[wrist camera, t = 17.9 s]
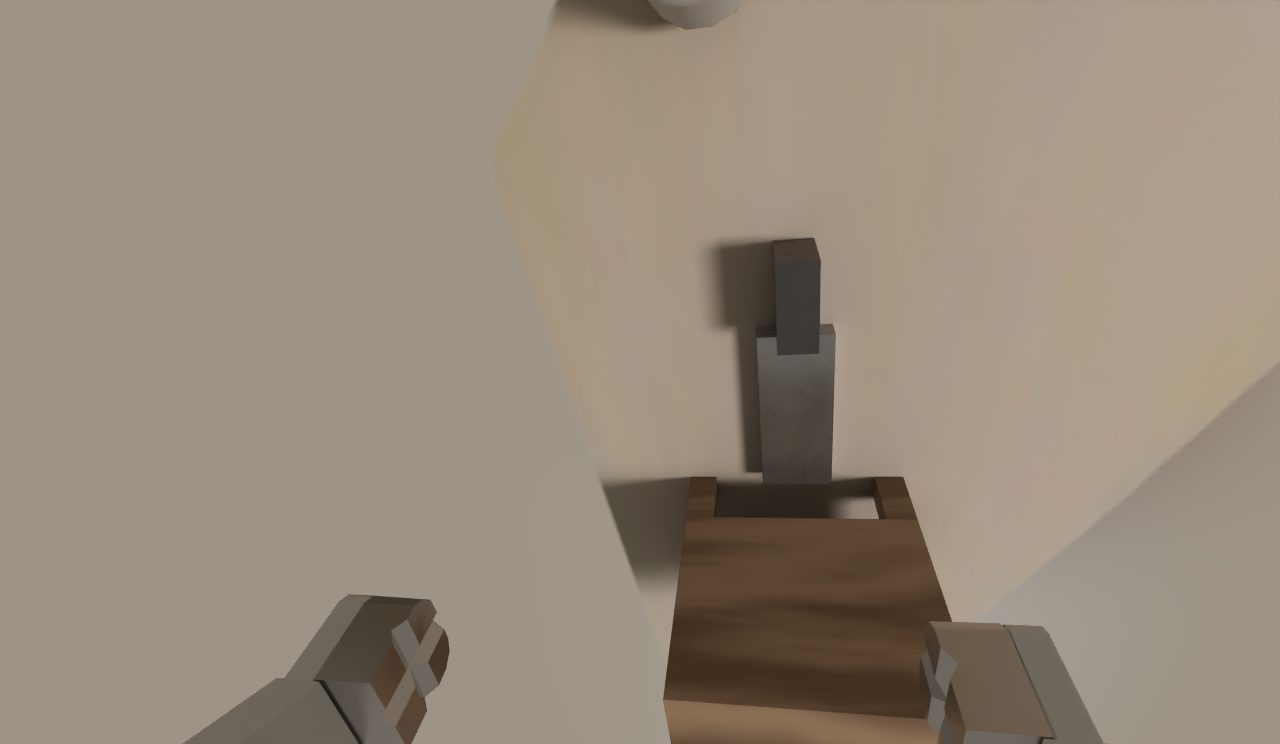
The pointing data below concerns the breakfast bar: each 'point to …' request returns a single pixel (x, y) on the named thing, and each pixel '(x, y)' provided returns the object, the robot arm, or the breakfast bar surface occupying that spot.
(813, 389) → the scraper
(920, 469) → the breakfast bar surface
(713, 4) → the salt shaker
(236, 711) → the robot arm
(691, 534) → the walnut cabinet
